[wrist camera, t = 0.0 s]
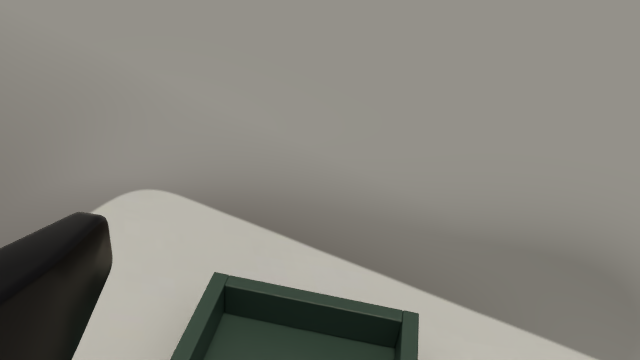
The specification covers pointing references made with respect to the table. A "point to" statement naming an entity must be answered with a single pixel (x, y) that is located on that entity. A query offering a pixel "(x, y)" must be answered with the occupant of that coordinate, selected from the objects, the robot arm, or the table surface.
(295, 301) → the green tray
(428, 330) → the table surface
